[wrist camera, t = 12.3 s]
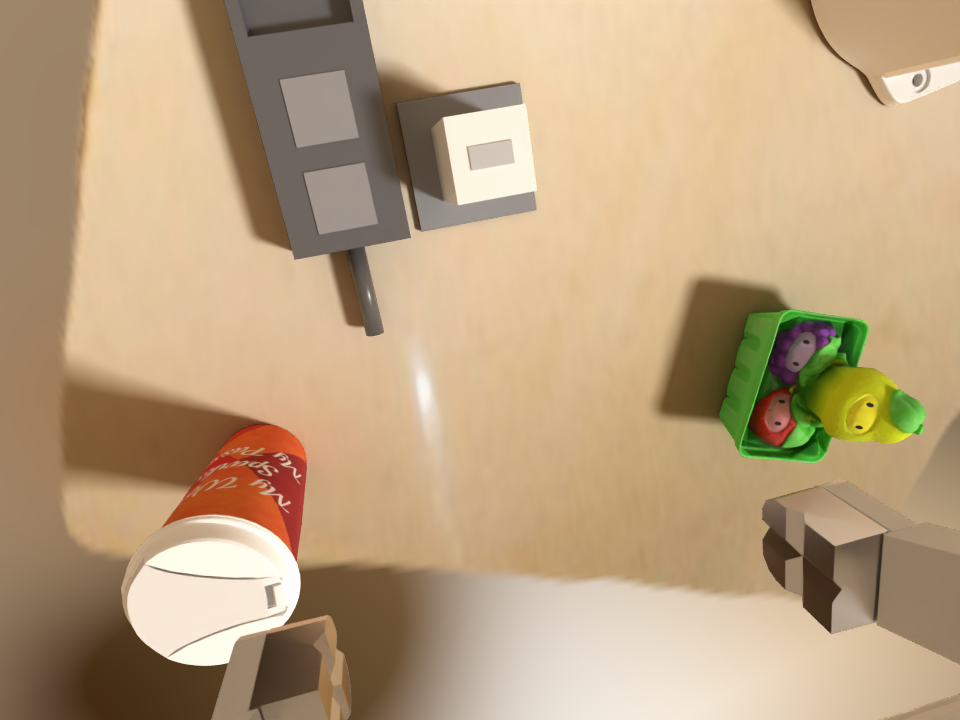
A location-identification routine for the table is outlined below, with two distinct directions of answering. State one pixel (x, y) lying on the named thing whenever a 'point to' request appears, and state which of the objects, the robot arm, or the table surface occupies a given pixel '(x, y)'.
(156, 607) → the coffee cup
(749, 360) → the fruit basket
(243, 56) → the power strip
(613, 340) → the table surface
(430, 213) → the mat
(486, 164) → the block
